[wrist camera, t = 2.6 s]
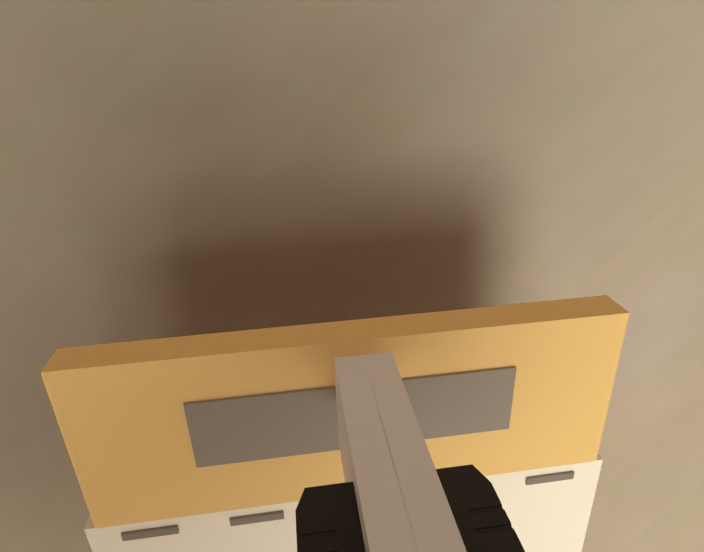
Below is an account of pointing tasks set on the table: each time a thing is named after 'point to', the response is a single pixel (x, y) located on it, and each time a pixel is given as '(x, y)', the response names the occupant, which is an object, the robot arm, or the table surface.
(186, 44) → the table surface
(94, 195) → the table surface
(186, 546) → the cream box
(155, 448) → the tan flat board
